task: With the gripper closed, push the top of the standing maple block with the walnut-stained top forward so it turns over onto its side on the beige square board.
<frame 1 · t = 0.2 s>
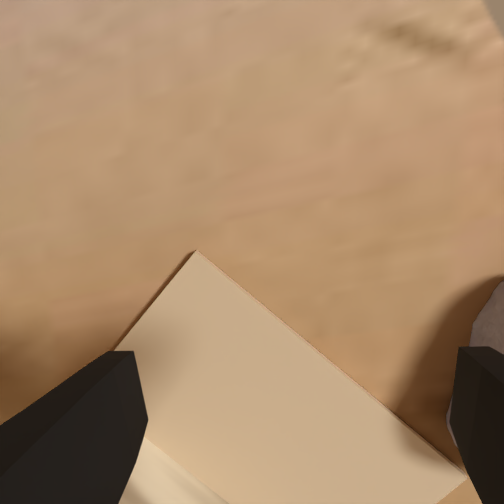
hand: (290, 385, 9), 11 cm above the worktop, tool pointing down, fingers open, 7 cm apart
beige square board: (235, 462, 22), on the worktop
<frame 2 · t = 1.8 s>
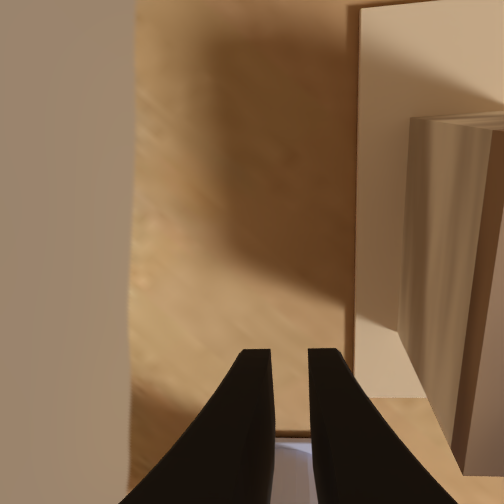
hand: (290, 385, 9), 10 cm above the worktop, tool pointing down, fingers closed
maple block: (449, 233, 18), resting on beige square board
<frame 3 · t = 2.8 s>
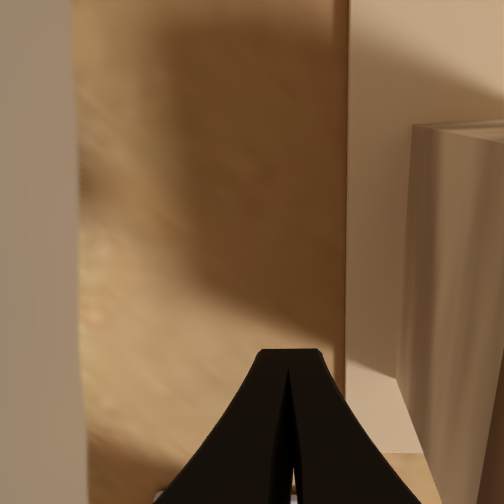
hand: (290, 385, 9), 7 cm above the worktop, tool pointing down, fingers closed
maple block: (460, 265, 14), resting on beige square board
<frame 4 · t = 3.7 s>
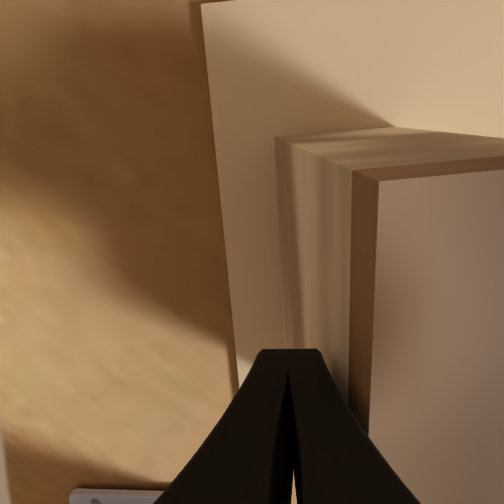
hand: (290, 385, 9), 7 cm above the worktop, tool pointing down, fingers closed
beige square board: (441, 262, 15), on the worktop
maple block: (335, 274, 14), point 1 cm above the worktop, tilted 12°, touching beige square board
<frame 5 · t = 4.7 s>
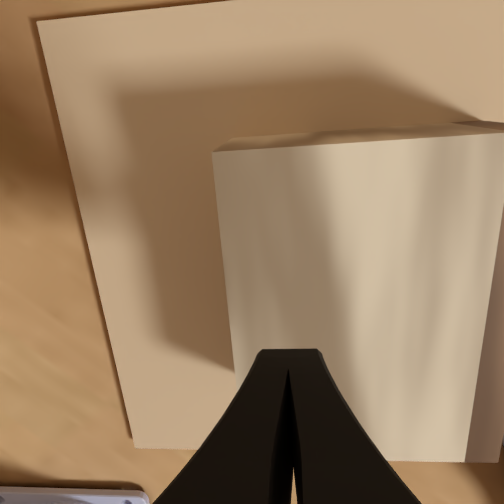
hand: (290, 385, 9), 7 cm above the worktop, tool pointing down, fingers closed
beige square board: (296, 266, 15), on the worktop
maple block: (238, 296, 13), point 2 cm above the worktop, tilted 90°, touching beige square board
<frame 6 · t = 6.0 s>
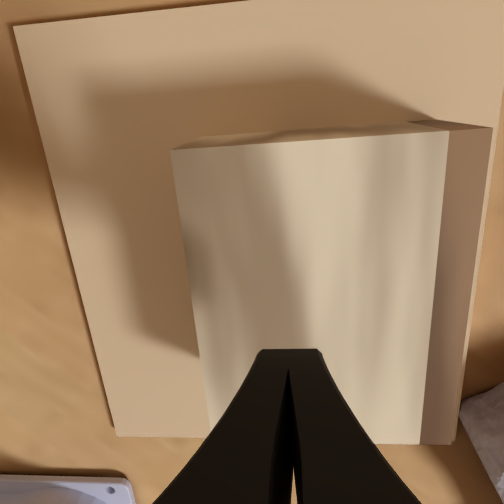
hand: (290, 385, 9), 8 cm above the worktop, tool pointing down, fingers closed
beige square board: (266, 260, 16), on the worktop
maple block: (206, 287, 14), point 2 cm above the worktop, tilted 90°, touching beige square board
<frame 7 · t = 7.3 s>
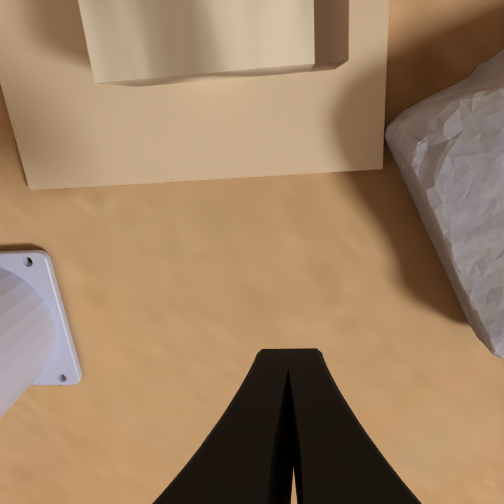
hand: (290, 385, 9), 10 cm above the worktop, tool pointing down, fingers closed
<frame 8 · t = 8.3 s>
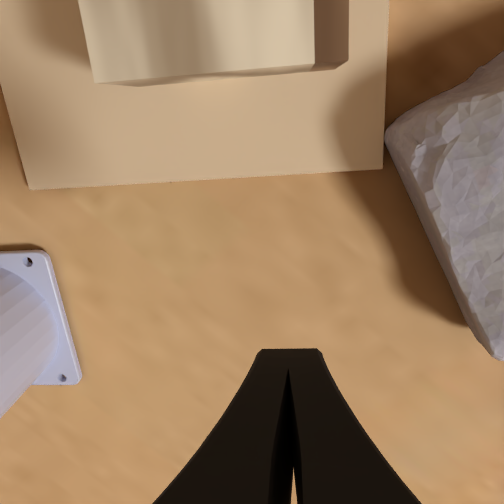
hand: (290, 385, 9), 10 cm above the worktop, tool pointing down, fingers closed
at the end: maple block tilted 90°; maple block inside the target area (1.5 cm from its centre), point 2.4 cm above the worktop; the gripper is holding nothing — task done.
